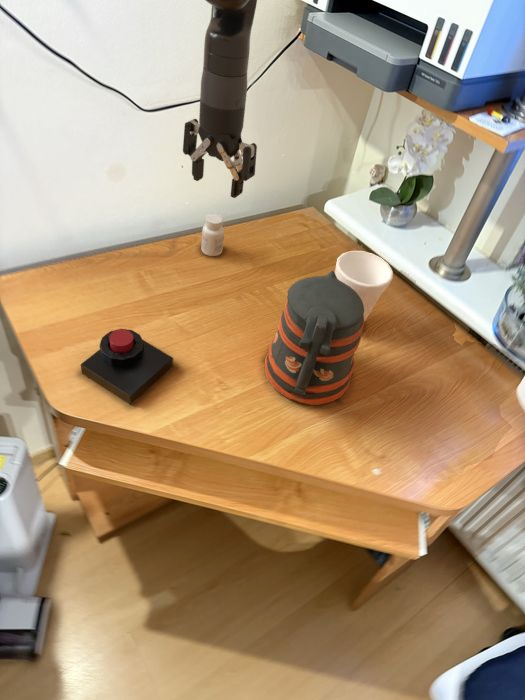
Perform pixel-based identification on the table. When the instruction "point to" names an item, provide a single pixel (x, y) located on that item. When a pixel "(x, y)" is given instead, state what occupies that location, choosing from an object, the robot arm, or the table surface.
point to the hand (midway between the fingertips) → (216, 187)
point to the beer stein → (316, 340)
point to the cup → (364, 276)
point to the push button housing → (127, 368)
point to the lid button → (121, 341)
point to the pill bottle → (212, 235)
